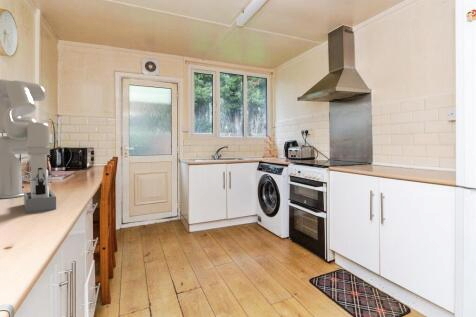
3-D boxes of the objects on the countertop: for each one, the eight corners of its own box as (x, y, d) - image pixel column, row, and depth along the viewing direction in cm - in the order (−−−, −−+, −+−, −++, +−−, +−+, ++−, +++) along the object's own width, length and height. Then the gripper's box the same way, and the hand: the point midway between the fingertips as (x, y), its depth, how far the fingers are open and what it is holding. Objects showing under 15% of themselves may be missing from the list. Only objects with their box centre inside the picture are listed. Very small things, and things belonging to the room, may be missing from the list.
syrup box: (48, 203, 108) (47, 170, 107) (30, 205, 104) (29, 170, 103) (49, 201, 112) (48, 169, 111) (32, 202, 109) (31, 169, 108)
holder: (24, 204, 115) (23, 192, 115) (51, 201, 122) (50, 190, 122) (25, 213, 101) (25, 199, 101) (56, 209, 108) (56, 196, 108)
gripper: (26, 150, 111) (27, 191, 112) (28, 152, 98) (29, 197, 99) (47, 150, 116) (48, 189, 117) (52, 152, 103) (53, 195, 104)
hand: (39, 192), depth 108 cm, fingers closed on syrup box, 6 cm apart
